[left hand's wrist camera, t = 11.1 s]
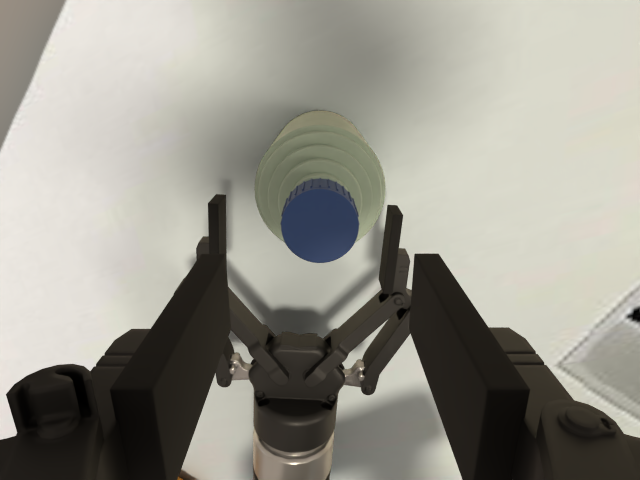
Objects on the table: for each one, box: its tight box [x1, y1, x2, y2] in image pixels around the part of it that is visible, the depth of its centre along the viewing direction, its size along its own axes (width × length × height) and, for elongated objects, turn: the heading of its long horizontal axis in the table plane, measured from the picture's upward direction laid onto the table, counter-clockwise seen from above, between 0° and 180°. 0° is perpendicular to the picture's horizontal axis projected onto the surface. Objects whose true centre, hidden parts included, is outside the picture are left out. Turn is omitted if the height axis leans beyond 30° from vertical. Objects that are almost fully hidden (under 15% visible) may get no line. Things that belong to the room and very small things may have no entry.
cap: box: [280, 178, 360, 263], centre depth 22 cm, size 4×4×2 cm
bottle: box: [255, 111, 385, 242], centre depth 30 cm, size 8×8×19 cm
